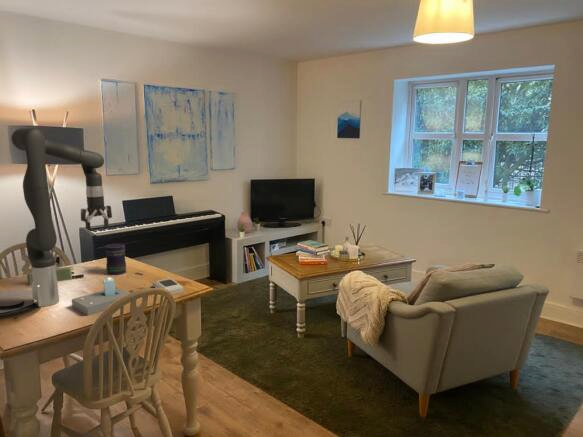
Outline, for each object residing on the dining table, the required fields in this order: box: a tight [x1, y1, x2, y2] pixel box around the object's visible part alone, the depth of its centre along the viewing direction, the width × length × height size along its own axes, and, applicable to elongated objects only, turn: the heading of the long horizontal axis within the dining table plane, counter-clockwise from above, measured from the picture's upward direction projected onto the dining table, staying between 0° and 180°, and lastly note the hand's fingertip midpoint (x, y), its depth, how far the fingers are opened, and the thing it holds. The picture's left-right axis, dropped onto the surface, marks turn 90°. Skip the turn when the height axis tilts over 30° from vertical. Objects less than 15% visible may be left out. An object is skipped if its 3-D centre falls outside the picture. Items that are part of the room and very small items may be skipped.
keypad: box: [151, 278, 185, 295], centre depth 215 cm, size 10×4×15 cm
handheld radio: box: [26, 266, 85, 286], centre depth 225 cm, size 7×3×25 cm
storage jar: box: [104, 242, 127, 276], centre depth 238 cm, size 10×10×15 cm
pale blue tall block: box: [102, 277, 116, 297], centre depth 198 cm, size 4×4×11 cm
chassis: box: [71, 286, 129, 316], centre depth 195 cm, size 20×14×4 cm
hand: (97, 228), depth 216 cm, fingers open, 8 cm apart
